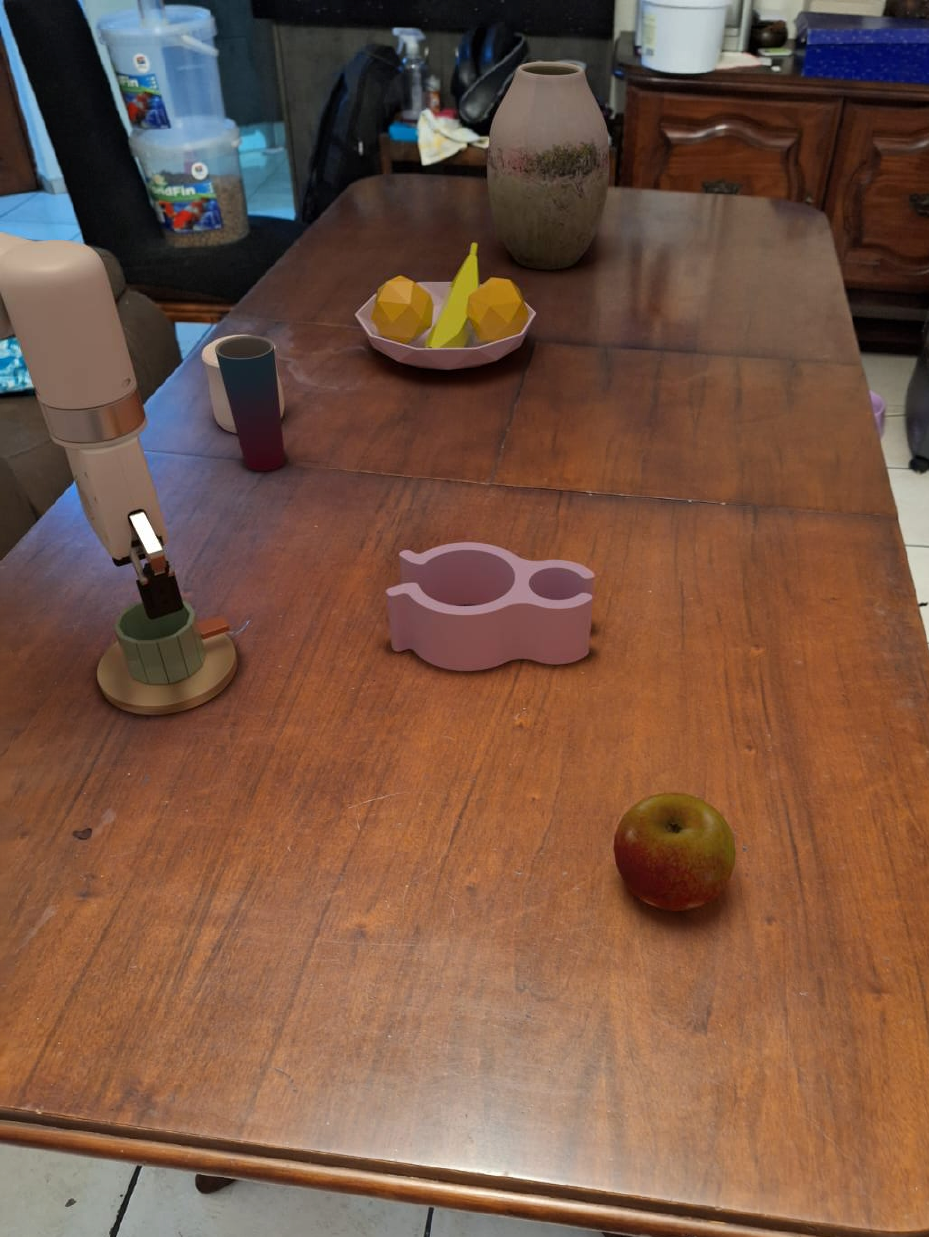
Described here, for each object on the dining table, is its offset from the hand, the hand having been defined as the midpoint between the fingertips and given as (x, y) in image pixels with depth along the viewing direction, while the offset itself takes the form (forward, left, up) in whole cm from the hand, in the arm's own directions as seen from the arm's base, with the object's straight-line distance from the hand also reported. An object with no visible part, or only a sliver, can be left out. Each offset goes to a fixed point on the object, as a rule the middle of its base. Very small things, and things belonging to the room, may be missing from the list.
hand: (148, 586), depth 93 cm
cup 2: (+24, +34, -10) cm, 43 cm away
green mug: (+1, 0, -9) cm, 9 cm away
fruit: (+25, -47, -10) cm, 54 cm away
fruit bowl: (+62, +52, -10) cm, 82 cm away
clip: (+30, -12, -10) cm, 34 cm away
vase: (+97, +78, -10) cm, 125 cm away
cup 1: (+27, +46, -10) cm, 54 cm away
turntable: (0, 0, -10) cm, 10 cm away
